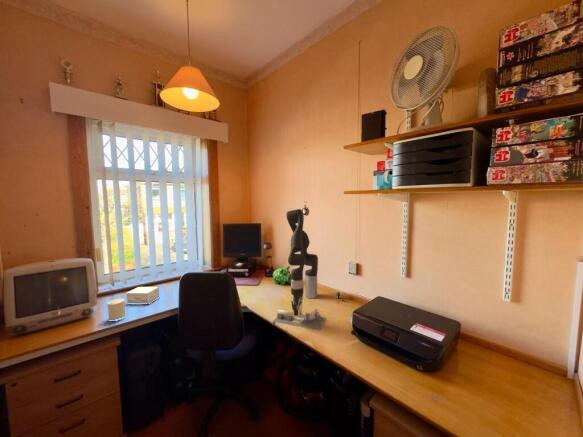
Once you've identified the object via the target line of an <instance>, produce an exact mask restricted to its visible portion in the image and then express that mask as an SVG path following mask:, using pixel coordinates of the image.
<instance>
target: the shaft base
mask: <svg viewBox="0 0 583 437" xmlns="http://www.w3.org/2000/svg"><path fill="white" fill-rule="evenodd" d="M327 319H328V318H327V317H326V318H325V317H321V313H320V312H319V311H318V309H317V308H313V309H312V310H311V312H305V314H303V313H302V315H301V316H300V317H296V316H293V311H290V310H286V309H285V310H284V309H277V314H276V317H275V318H274V320H273V321H272V324H274V325H275V324H276V323H277V324H278V323H279V324H283V325H289V326H294V327H297V328H298V327H300V328H304V329H305V328H306V329H310V330H315V331H318V332H319V331H320V332H321V331H322V328H323V326H324V325H325V323H326V321H327ZM277 324H276V325H277Z"/></svg>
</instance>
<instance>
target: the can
mask: <svg viewBox="0 0 583 437" xmlns="http://www.w3.org/2000/svg"><path fill="white" fill-rule="evenodd" d="M125 301H126V299H124V298H116V299H112V300H109V301H108V302H107V313H108V314H107V315H108V321H109V320H115V319H119V318H122V317H124V316H125V315H126V302H125ZM126 316H127V315H126Z"/></svg>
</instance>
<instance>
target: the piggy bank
mask: <svg viewBox="0 0 583 437" xmlns="http://www.w3.org/2000/svg"><path fill="white" fill-rule="evenodd" d="M290 268H291V265H287V267H281V268H280V267H279V268H276V269H275V270H274V271H273V273H272V277H273V280H274V284H276V285H281V286H284V285H286V284H289V283H290V284H291V271H290Z"/></svg>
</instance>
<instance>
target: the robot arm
mask: <svg viewBox="0 0 583 437" xmlns="http://www.w3.org/2000/svg"><path fill="white" fill-rule="evenodd" d="M285 216H286V220H287V223H288V225H289V227H290V229H291V231H292V235H291V239H290V251H289V255H288V258H287V263H288V265H289V266H290V267H291V266H293V267H295V266H298V267H297V268H294V269H291V271H290V274H291V282H290V294H291V296H293V297H292V300H291V307H292V308H291V309H292V311H293V310H294V315H295V316H297V315H298V306H299V303H302V304H303V299H304V298H303V296H304V285H305V297H306V298H308V299H316V298H318V270H319V268H318V267H319V264H318V263H319V257H318V255H317V254H314V253H309V252H308V248H309V246H310V244H311V243H310V239H309V238H310V237H309V236H308V233H307V232H306V231H305V230H304V220H305V216H304V212H303V210H302V209H301V208H299V209H298V208H297V209H291V210H288V211H287V212H286V214H285ZM305 266H307V267H310V269H306V270H304V268H305ZM304 271H305V272H304ZM304 273H305V274H304ZM304 276H305V278H304ZM304 279H305V284H304ZM296 303H297V304H296Z"/></svg>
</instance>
